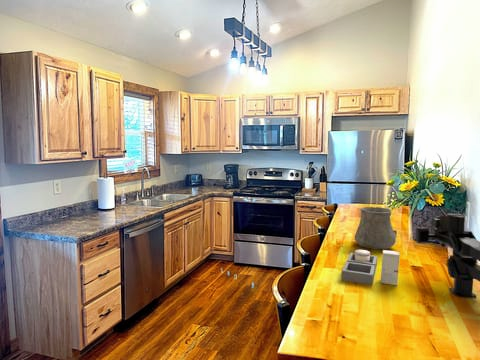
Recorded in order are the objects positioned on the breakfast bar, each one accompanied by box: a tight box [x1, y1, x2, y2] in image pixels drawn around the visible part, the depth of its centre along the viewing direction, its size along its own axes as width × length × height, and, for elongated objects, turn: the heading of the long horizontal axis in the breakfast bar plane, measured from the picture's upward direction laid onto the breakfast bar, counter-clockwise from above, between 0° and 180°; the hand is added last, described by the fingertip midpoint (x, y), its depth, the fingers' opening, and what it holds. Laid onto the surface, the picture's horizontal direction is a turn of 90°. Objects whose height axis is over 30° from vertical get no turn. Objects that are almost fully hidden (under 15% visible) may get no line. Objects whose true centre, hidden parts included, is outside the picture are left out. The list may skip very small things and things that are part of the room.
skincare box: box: [380, 249, 401, 286], centre depth 139 cm, size 6×4×12 cm
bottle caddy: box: [341, 249, 378, 286], centre depth 150 cm, size 11×24×7 cm, turn 155°
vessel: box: [354, 206, 398, 250], centre depth 185 cm, size 22×22×20 cm
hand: (429, 231), depth 152 cm, fingers open, 9 cm apart
